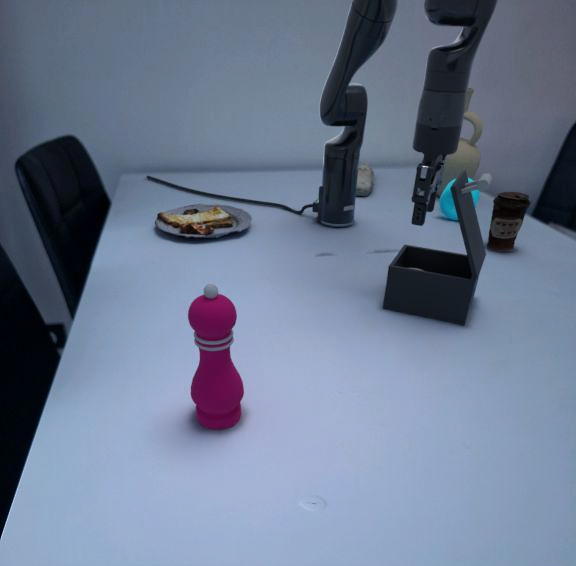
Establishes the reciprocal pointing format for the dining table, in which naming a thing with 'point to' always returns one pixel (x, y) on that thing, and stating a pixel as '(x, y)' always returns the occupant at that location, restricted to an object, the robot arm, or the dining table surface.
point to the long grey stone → (364, 179)
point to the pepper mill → (215, 361)
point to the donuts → (448, 203)
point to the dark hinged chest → (430, 284)
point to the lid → (470, 217)
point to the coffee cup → (507, 220)
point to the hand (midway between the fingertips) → (422, 217)
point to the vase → (464, 151)
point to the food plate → (203, 220)
